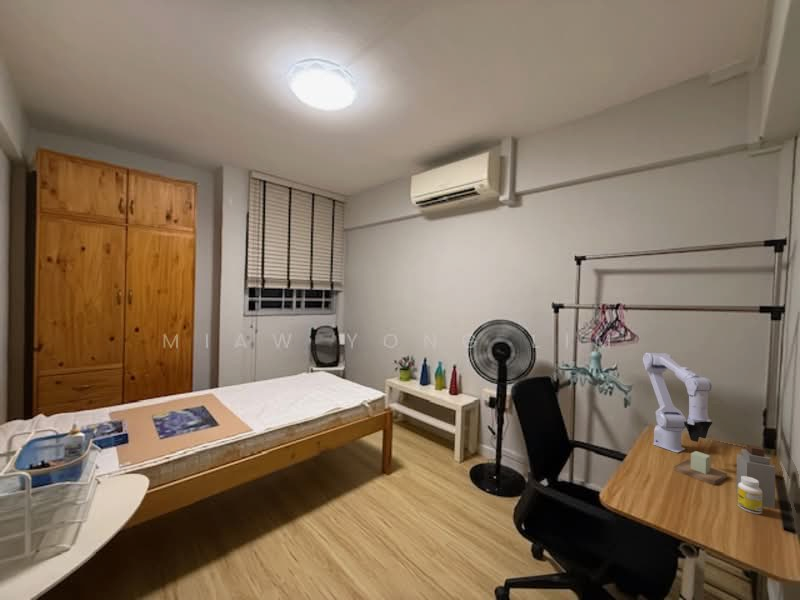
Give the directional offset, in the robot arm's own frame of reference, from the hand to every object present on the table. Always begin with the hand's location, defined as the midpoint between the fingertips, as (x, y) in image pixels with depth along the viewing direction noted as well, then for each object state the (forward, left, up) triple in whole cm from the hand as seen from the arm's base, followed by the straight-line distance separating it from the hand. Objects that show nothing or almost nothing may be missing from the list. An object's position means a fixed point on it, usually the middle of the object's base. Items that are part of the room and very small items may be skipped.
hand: (698, 439), depth 134 cm
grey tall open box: (+20, -14, -11) cm, 26 cm away
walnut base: (+4, -9, -10) cm, 14 cm away
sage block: (+4, -9, -9) cm, 13 cm away
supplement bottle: (+21, -23, -11) cm, 33 cm away
